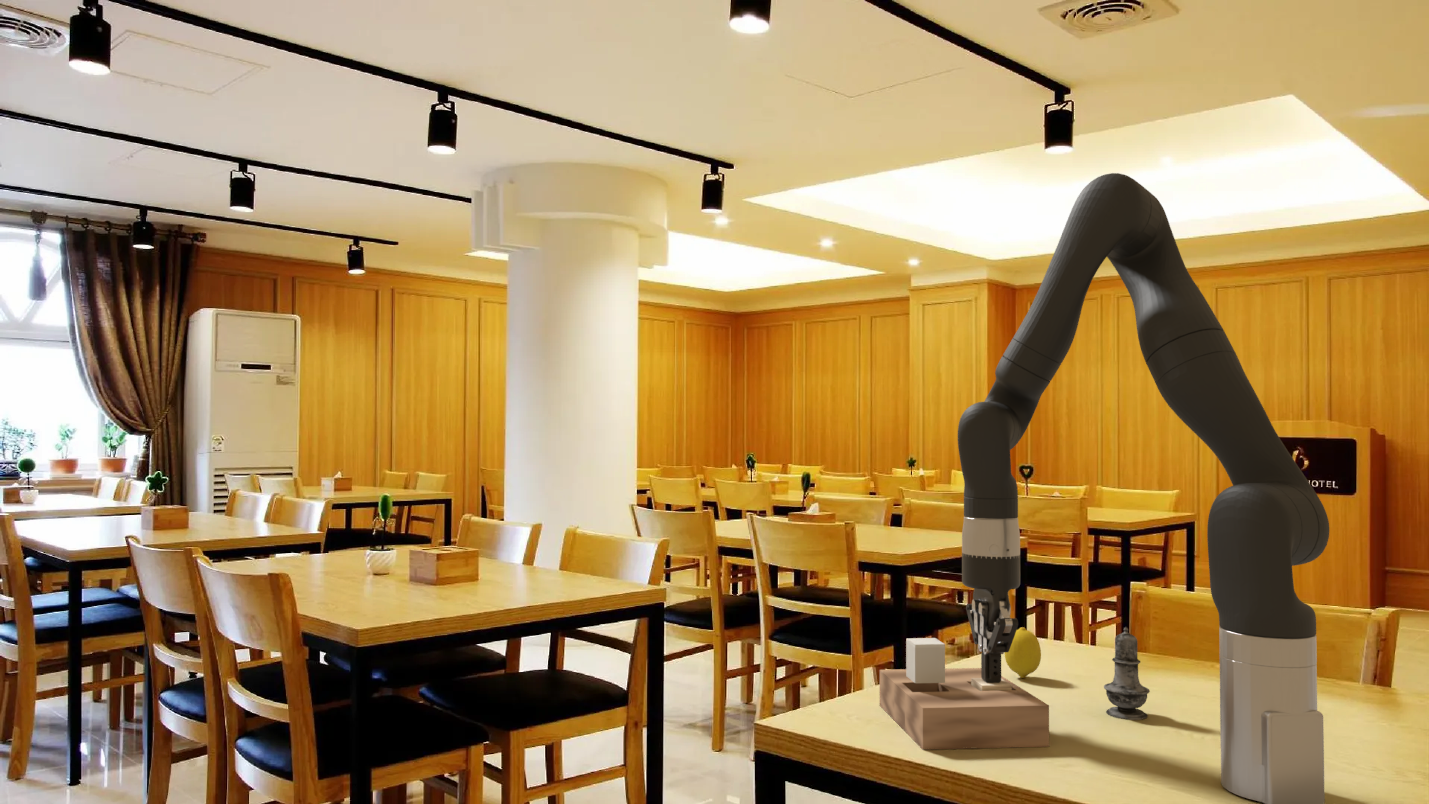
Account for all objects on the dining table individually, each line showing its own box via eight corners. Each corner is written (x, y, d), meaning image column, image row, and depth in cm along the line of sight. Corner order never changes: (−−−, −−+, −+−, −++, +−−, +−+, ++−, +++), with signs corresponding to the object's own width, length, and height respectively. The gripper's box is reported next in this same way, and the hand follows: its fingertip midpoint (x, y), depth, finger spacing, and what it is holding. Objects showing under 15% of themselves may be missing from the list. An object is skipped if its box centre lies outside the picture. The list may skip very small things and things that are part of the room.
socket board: (1049, 746, 122) (1049, 705, 122) (922, 749, 121) (922, 708, 121) (988, 703, 142) (988, 667, 142) (879, 705, 141) (879, 669, 141)
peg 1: (945, 682, 129) (944, 644, 130) (915, 683, 129) (915, 644, 129) (935, 675, 133) (935, 638, 134) (906, 675, 133) (906, 638, 133)
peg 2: (1011, 723, 130) (1011, 685, 130) (982, 724, 130) (982, 685, 130) (1000, 714, 134) (999, 677, 134) (971, 715, 134) (971, 678, 134)
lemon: (997, 675, 159) (997, 625, 159) (1024, 672, 161) (1023, 623, 161) (1021, 683, 154) (1021, 631, 154) (1048, 680, 156) (1048, 629, 156)
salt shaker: (1154, 721, 133) (1153, 631, 134) (1108, 718, 135) (1107, 629, 135) (1144, 709, 139) (1143, 623, 140) (1100, 707, 140) (1099, 622, 141)
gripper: (1038, 557, 127) (1039, 694, 126) (999, 545, 140) (999, 669, 139) (981, 557, 126) (982, 695, 125) (947, 545, 139) (947, 670, 138)
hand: (991, 681), depth 132 cm, fingers closed
